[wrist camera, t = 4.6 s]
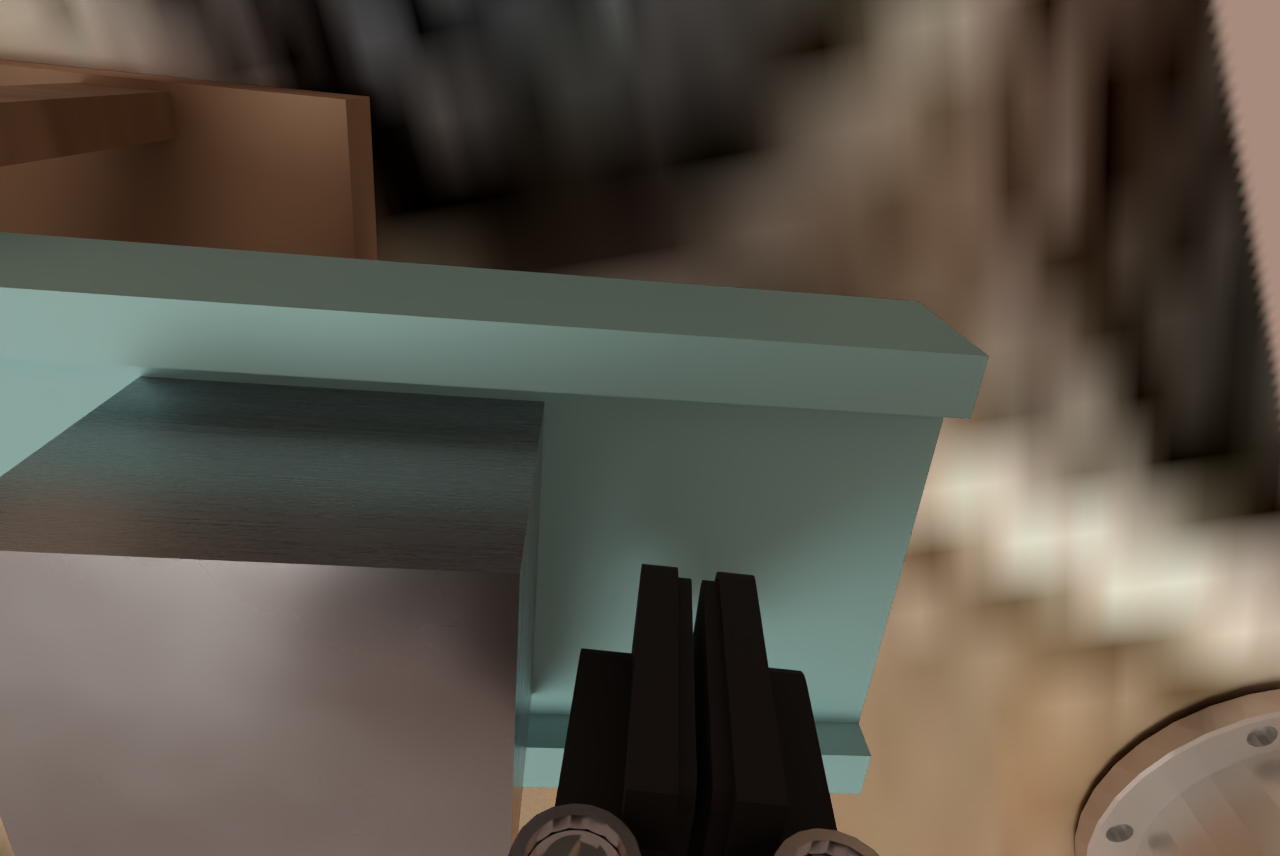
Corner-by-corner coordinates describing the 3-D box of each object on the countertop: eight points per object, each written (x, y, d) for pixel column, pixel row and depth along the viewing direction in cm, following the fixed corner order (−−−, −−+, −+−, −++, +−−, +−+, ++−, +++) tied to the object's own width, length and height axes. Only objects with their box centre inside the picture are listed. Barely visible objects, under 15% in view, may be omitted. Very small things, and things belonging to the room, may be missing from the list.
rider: (544, 401, 12) (520, 574, 8) (531, 694, 15) (508, 935, 11) (140, 376, 12) (-97, 547, 8) (198, 683, 14) (42, 933, 10)
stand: (369, 96, 19) (127, 127, 11) (392, 550, 25) (244, 804, 16) (-45, 55, 19) (-610, 54, 11) (70, 518, 25) (-242, 754, 16)
